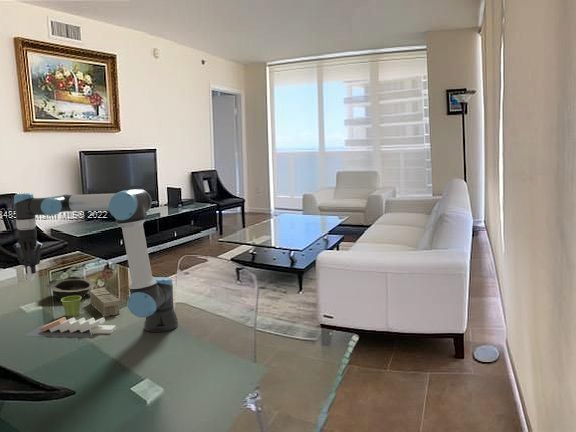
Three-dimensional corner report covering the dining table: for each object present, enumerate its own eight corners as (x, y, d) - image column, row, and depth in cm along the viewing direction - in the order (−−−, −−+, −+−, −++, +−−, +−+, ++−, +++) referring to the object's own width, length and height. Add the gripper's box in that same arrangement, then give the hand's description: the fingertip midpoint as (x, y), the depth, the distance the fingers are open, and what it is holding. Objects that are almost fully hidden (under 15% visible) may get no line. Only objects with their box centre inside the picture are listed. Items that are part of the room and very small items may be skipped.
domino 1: (47, 328, 216) (66, 320, 215) (41, 332, 211) (60, 324, 210) (46, 324, 216) (64, 316, 215) (39, 328, 211) (58, 320, 210)
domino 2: (57, 328, 216) (75, 320, 215) (51, 332, 211) (70, 324, 210) (55, 325, 216) (74, 316, 214) (49, 329, 211) (68, 320, 209)
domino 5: (86, 328, 215) (105, 320, 214) (81, 332, 210) (100, 324, 209) (84, 325, 215) (103, 317, 214) (79, 329, 210) (98, 320, 209)
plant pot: (77, 318, 230) (76, 301, 229) (58, 318, 230) (57, 301, 229) (86, 312, 239) (84, 295, 238) (67, 312, 240) (66, 295, 238)
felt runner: (105, 326, 219) (105, 325, 219) (90, 338, 205) (90, 337, 205) (42, 325, 221) (42, 324, 221) (24, 337, 207) (24, 336, 207)
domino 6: (95, 329, 215) (116, 329, 214) (89, 333, 210) (111, 333, 209) (94, 325, 214) (116, 325, 214) (89, 329, 209) (111, 329, 209)
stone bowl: (47, 293, 272) (48, 277, 272) (94, 290, 283) (94, 275, 282) (46, 304, 250) (46, 287, 249) (96, 301, 261) (97, 285, 260)
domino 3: (66, 328, 215) (85, 320, 214) (60, 332, 210) (80, 324, 209) (65, 325, 215) (84, 317, 214) (59, 329, 210) (78, 320, 209)
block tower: (89, 305, 254) (104, 318, 230) (88, 290, 253) (103, 301, 229) (105, 302, 258) (120, 315, 235) (104, 287, 257) (119, 298, 234)
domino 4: (76, 328, 215) (95, 320, 214) (70, 332, 210) (90, 324, 209) (74, 325, 215) (93, 317, 214) (68, 329, 210) (88, 321, 209)
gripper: (45, 226, 211) (50, 278, 214) (17, 227, 212) (22, 278, 215) (35, 229, 203) (40, 282, 207) (6, 230, 204) (12, 282, 207)
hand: (31, 280), depth 211 cm, fingers closed
